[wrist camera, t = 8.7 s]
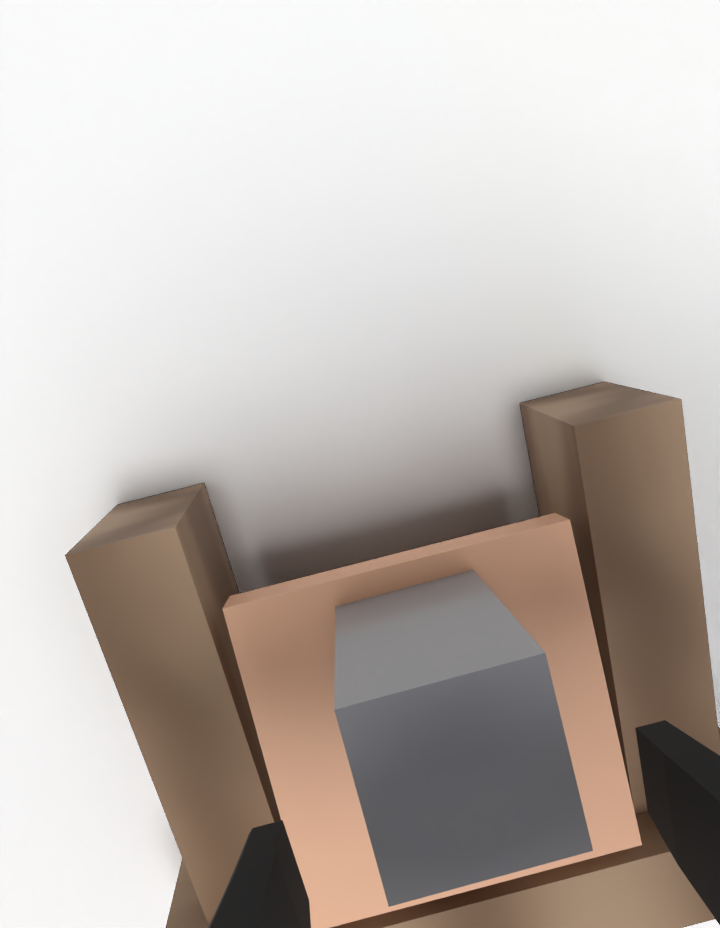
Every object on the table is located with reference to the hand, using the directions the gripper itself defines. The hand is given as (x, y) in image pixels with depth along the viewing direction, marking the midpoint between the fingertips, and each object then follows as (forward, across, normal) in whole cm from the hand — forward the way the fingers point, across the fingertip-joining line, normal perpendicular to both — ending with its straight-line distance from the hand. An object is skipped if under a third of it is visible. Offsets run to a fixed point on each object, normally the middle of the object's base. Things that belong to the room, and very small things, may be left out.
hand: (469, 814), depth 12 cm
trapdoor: (+6, 0, +2) cm, 7 cm away
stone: (+6, 0, 0) cm, 6 cm away
